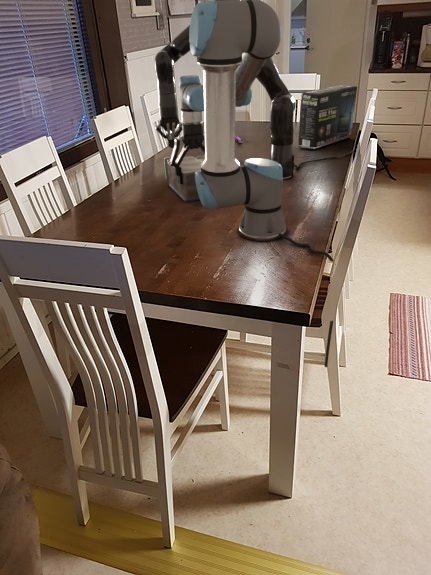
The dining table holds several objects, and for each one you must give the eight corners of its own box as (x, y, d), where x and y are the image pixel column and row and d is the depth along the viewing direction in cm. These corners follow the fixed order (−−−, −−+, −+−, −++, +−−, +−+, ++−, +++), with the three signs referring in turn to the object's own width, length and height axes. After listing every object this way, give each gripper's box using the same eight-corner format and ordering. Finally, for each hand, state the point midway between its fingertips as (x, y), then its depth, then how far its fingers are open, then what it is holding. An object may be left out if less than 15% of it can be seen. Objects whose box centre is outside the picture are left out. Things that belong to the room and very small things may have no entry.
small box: (169, 186, 193) (166, 159, 187) (193, 182, 197) (192, 155, 191) (185, 202, 176) (183, 173, 170) (212, 197, 179) (211, 169, 174)
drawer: (161, 175, 203) (159, 154, 198) (182, 172, 206) (181, 151, 201) (180, 193, 182) (178, 170, 177) (203, 189, 185) (202, 166, 180)
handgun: (221, 137, 265) (221, 133, 264) (234, 135, 266) (234, 132, 265) (229, 145, 248) (229, 141, 247) (243, 143, 249) (243, 140, 248)
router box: (314, 151, 231) (318, 94, 217) (296, 148, 237) (299, 92, 224) (352, 138, 251) (358, 85, 238) (335, 135, 258) (340, 83, 245)
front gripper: (218, 117, 172) (220, 173, 183) (157, 124, 165) (162, 183, 176) (226, 120, 166) (227, 179, 177) (163, 128, 159) (168, 188, 170)
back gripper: (180, 102, 193) (183, 144, 202) (149, 105, 189) (154, 147, 198) (186, 104, 187) (188, 147, 196) (154, 108, 183) (159, 151, 192)
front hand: (195, 181), depth 177 cm, fingers open, 12 cm apart
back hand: (171, 147), depth 197 cm, fingers closed
